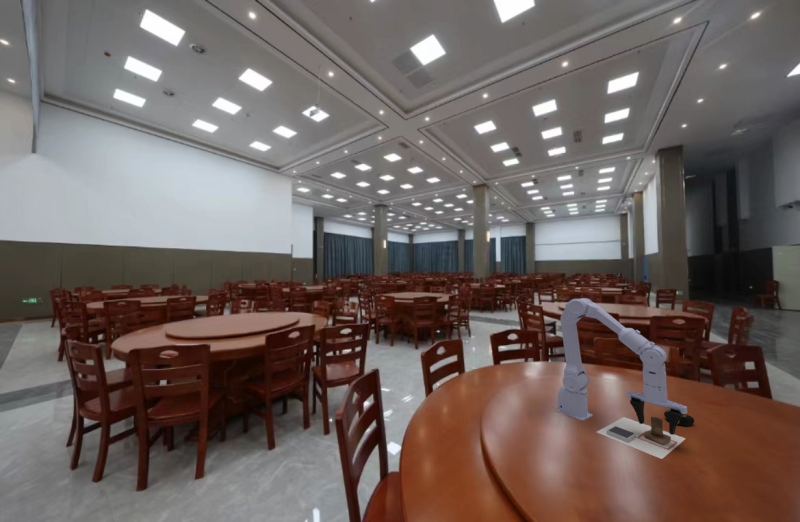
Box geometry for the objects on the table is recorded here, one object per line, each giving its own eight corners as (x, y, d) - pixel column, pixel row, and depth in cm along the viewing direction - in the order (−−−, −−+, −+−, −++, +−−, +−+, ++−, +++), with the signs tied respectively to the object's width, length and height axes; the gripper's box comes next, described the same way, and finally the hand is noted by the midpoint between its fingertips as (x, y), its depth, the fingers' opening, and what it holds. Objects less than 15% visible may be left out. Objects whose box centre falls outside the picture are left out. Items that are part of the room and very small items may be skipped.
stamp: (644, 437, 94) (643, 417, 94) (651, 434, 96) (650, 414, 97) (663, 445, 90) (662, 424, 90) (670, 441, 92) (670, 420, 92)
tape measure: (695, 427, 103) (695, 416, 103) (683, 429, 101) (682, 418, 101) (672, 418, 109) (672, 407, 109) (660, 420, 107) (659, 410, 107)
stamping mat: (596, 433, 97) (595, 427, 97) (623, 417, 108) (623, 413, 108) (661, 460, 83) (661, 454, 83) (685, 439, 94) (685, 434, 94)
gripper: (689, 389, 90) (691, 435, 89) (632, 376, 102) (634, 415, 101) (681, 394, 86) (684, 441, 85) (623, 379, 98) (625, 420, 98)
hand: (656, 428), depth 93 cm, fingers open, 7 cm apart
